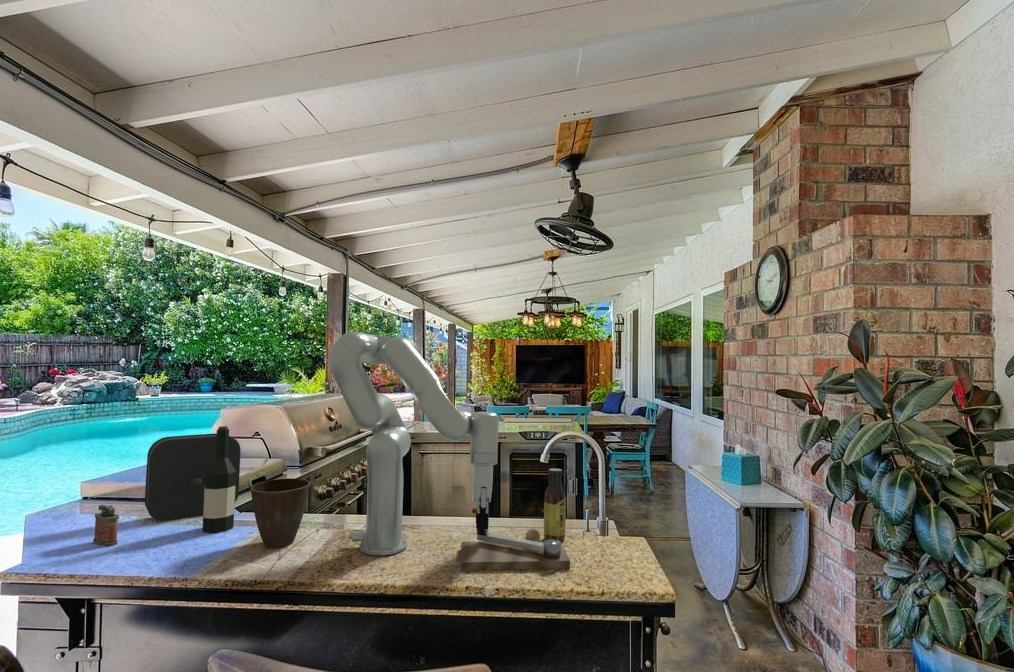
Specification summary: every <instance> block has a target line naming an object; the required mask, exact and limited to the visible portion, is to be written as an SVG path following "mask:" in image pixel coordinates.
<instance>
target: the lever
mask: <svg viewBox="0 0 1014 672" xmlns="http://www.w3.org/2000/svg"><path fill="white" fill-rule="evenodd" d="M480 505H481V504H480ZM476 509H477V513H478V505H477V504H476ZM489 509H490V506H489V504H488V514H490V513H489V511H490V510H489ZM489 516H490V515H488V526H489V521H490V520H489V519H490V518H489ZM476 540H477V541H486V542H491V543H496V544H502V545H507V546H512V547H518V548H523V549H528V550H533V551H539V552H543V555H544V556H546V557H549V558H557V557H560V556H561V545H562V541H558V540H553V539H549V540H546V539H545V540H543V541H544V543H542V542H537V541H531V540H526V538H525V539H524V538H520V537H515V536H509V535H503V534H497V533H492V532H491V533H490V532H489V528H488V529H477V528H476Z"/></svg>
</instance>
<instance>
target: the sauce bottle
mask: <svg viewBox="0 0 1014 672" xmlns="http://www.w3.org/2000/svg"><path fill="white" fill-rule="evenodd" d="M562 476H563V469H560V468H558V467H557V468H553V467H552V468H549V469H548V486H547V487H546V489H545V492H544V502H543V504H544V505H543V507H544V508H543V534H544V535H543V537H544V539H545V540H549V539H553V540H558V541H560V542H563V541H564V540H565V539H566V510H567V509H566V507H567V506H566V505H567V504H566V501H567V500H566V499H567V497H566V495H565V491H564V488H563V483H562Z"/></svg>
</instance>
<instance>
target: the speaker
mask: <svg viewBox="0 0 1014 672" xmlns="http://www.w3.org/2000/svg"><path fill="white" fill-rule="evenodd" d="M216 434H217V432H215V433H202V434H189V435H188V434H187V435H184V434H183V435H173V436H164V437H161V438H159V439H157V440H156V441H155V442H153V443H152V445H151V446H150V447H149V449H148V451H147V455H146V472H145V474H146V475H145V491H144V492H145V493H144V495H145V496H144V505H145V508H146V510H147V513H148V514H149V516H150V517H151V518H153V519H154V520H156V521H159V522H168V521H174V520H175V521H177V520H182V519H188V518H193V517H201V516H203V508H204V489H205V472H206V471H207V469H208V468H209V466H210V465H211V463H212V462H213V460H214V459H215V453H216ZM241 450H242V449H241V445H240V443H239V441H238V440H237V439H235V438H234V437H232V436H230V435H229V443H228V459H229V460H230V462H231V464H232V465H233V467H234V469H235V470H236V483H235V503H236V502H237V500H238V498H239V490H240V489H239V488H240V476H241V475H240V474H241V473H240V469H241V467H240V466H241Z"/></svg>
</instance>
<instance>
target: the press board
mask: <svg viewBox="0 0 1014 672" xmlns="http://www.w3.org/2000/svg"><path fill="white" fill-rule="evenodd" d="M525 539H526V540H531V541H537V542H542V543H544V541H545V540H541V534H540V532H539V531H538V530H537V529H535V528H531V529H528V530H527V532H526V533H525ZM460 542H461V543H460V571H461V572H463V571H466V572H467V571H470V570H474V571H488V570H487V569H532V570H571V559H570V558H569V556H568V554H567V552H566V551H565V549H564V547H563V545H562V544H561V556H560V557H557V558H549V557H546V556H544V555H543V552H539V551H533V550H528V549H523V548H518V547H512V546H507V545H502V544H496V543H491V542H486V541H481V540H477V541H460Z"/></svg>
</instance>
